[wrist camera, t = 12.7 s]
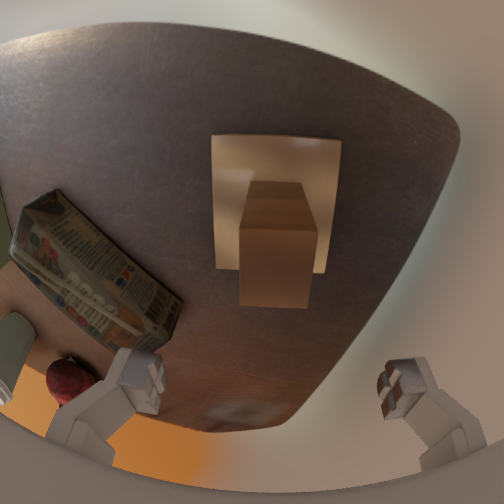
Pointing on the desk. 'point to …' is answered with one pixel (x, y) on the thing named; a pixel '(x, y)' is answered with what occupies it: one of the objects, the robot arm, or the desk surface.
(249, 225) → the brown wooden block
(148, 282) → the beverage carton
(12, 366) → the disposable coffee cup
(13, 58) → the desk surface
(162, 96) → the desk surface
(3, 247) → the green box base
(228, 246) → the board
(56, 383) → the fruit
